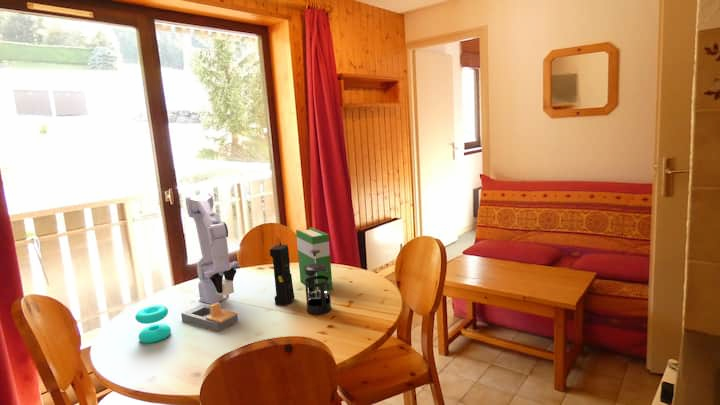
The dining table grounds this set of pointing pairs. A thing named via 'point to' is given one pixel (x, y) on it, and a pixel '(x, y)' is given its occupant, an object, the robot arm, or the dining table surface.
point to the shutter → (219, 313)
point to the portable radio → (282, 274)
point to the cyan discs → (156, 330)
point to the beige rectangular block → (226, 288)
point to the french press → (317, 297)
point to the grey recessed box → (199, 318)
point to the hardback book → (310, 242)
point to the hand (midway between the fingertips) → (224, 290)
